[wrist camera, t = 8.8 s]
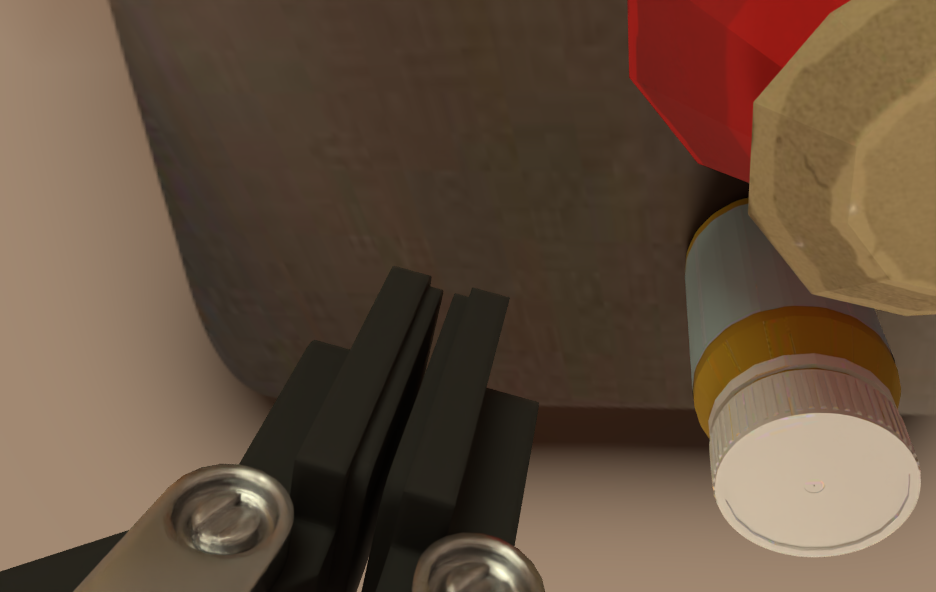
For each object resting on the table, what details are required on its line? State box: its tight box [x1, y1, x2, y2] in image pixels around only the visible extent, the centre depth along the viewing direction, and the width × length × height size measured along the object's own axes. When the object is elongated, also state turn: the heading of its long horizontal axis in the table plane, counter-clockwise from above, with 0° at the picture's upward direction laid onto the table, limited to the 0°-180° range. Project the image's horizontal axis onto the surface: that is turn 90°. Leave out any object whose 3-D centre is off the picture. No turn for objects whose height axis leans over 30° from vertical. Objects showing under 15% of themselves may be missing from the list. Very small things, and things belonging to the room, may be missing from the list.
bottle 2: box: [685, 198, 921, 557], centre depth 34 cm, size 7×7×15 cm
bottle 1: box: [628, 0, 936, 316], centre depth 25 cm, size 16×14×20 cm
